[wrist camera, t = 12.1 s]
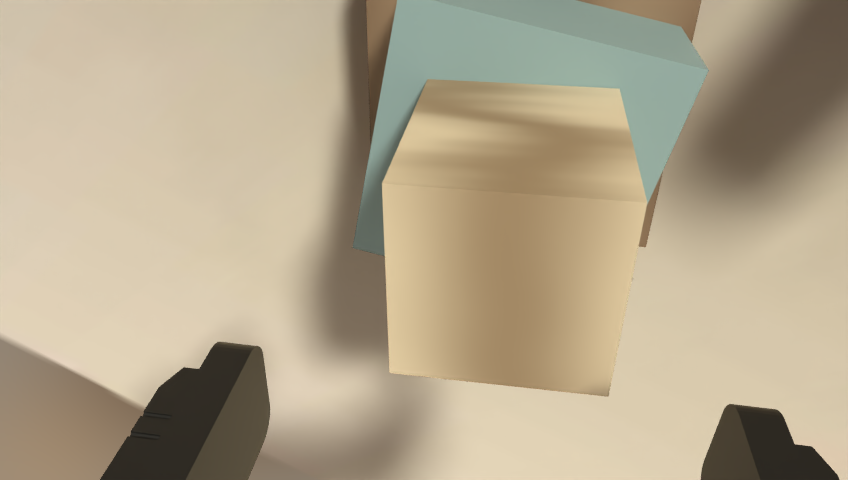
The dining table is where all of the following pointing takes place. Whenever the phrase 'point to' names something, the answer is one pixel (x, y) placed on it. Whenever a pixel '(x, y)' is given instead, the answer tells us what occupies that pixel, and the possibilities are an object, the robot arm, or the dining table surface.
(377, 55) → the tower base
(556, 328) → the maple block
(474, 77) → the tower top
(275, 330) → the dining table surface
